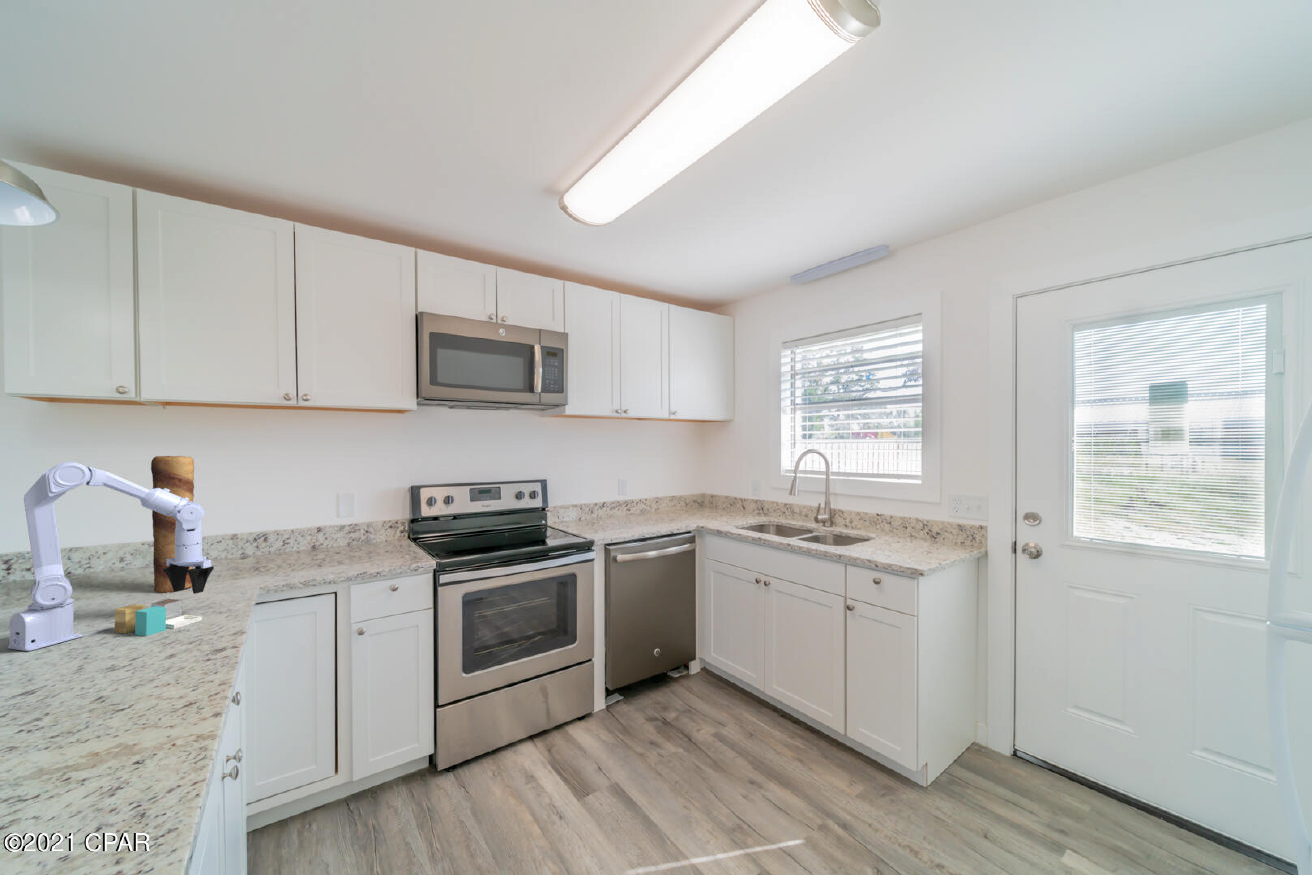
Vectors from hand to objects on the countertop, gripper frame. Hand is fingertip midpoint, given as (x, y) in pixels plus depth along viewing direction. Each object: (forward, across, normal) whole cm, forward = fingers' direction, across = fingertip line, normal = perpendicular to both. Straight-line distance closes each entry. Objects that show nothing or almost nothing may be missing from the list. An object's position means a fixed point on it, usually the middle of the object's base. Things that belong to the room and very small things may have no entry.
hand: (188, 591), depth 141 cm
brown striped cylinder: (+6, +35, -17) cm, 39 cm away
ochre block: (+6, 0, +13) cm, 14 cm away
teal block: (+6, -7, +13) cm, 16 cm away
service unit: (+6, 0, +5) cm, 8 cm away
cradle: (+6, -7, +6) cm, 11 cm away
